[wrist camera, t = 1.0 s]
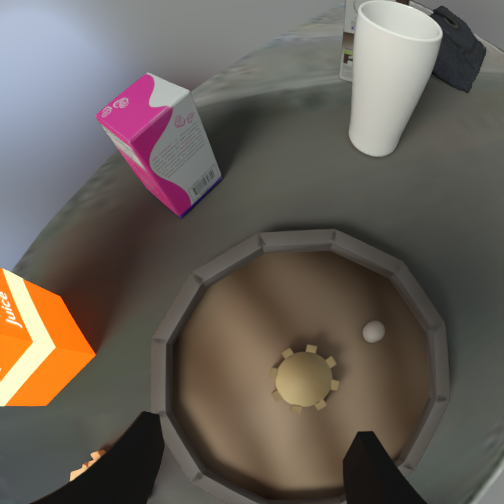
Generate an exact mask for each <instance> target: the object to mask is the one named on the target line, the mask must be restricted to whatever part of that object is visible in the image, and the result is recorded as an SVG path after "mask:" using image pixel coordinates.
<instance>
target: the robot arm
mask: <svg viewBox="0 0 504 504" xmlns="http://www.w3.org/2000/svg"><path fill="white" fill-rule="evenodd" d="M164 446H165V445H164V439H163V433H162V428H161V422H160V416H159V414H155V413H150V412H145V411H143V412H141V413H140V415H139V416H138V417H137V418H136V420H135V421H134V422H133V423H132V424H131V426H130V427H129V428H128V429H127V430H126V431H125V432H124V434H123V435H122V436H121V437H120V438H119V439H118V440H117V441H116V442H115V443H114V444H113V445H112V446H111V447H110V448H109V449H108V450H107V451H106V452H105V453H104V454H103V455H102V456H101V457H100V458H99V459H98V460H97V461H96V462H94V463H93V464H92V465H91V466H90V467H89V468H88V469H86V470H85V471H84V472H83V473H81V474H80V475H79V476H77V477H76V478H74V479H73V480H72V481H70V482H69V483H67V484H66V485H64V486H62V487H61V488H59V489H58V490H56V491H54V492H52V493H51V494H49V495H47V496H45V497H43V498H41V499H39V500H37V501H34V502H32V503H30V504H146V503H147V500H148V498H149V495H150V492H151V490H152V487H153V484H154V482H155V479H156V476H157V473H158V471H159V468H160V464H161V460H162V455H163V451H164ZM343 483H344V490H345V495H346V501H347V504H427V503H426V502H425V501H424V500H423V499H422V498H421V497H420V495H419V494H418V493H417V492H416V491H415V490H414V488H413V487H412V486H411V485H410V484H409V482H408V481H407V480H406V479H405V477H404V476H403V475H402V473H401V472H400V470H399V469H398V468H397V466H396V465H395V463H394V462H393V461H392V459H391V458H390V456H389V455H388V453H387V452H386V450H385V449H384V447H383V445H382V444H381V442H380V441H379V439H378V438H377V436H376V435H375V433H374V432H373V431H358V432H357V434H356V436H355V438H354V440H353V442H352V444H351V446H350V448H349V449H348V451H347V453H346V455H345V457H344V459H343Z"/></svg>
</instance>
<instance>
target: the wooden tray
mask: <svg viewBox="0 0 504 504" xmlns="http://www.w3.org/2000/svg"><path fill="white" fill-rule="evenodd" d="M449 401H450V379H449V360H448V346H447V335H446V325H445V322H444V321H443V319H442V317H441V316H440V314H439V313H438V311H437V310H436V308H435V307H434V305H433V304H432V302H431V301H430V299H429V298H428V296H427V295H426V293H425V292H424V290H423V289H422V288H421V286H420V285H419V283H418V282H417V280H416V279H415V278H414V276H413V275H412V273H411V272H410V271H409V269H408V268H407V266H406V265H405V264H404V262H403V261H401V260H399V259H397V258H395V257H393V256H391V255H389V254H387V253H385V252H383V251H381V250H379V249H377V248H375V247H372V246H370V245H368V244H366V243H364V242H362V241H360V240H358V239H356V238H354V237H351V236H349V235H347V234H345V233H343V232H341V231H339V230H336V229H319V230H299V231H279V232H261V233H257V234H255V235H253V236H252V237H250V238H248V239H247V240H245V241H243V242H241V243H240V244H238V245H236V246H235V247H233V248H231V249H230V250H228V251H226V252H225V253H223V254H221V255H220V256H218V257H216V258H215V259H213V260H211V261H210V262H208V263H206V264H204V265H203V266H201V267H199V268H198V269H196V270H194V271H193V272H191V274H190V275H189V277H188V279H187V280H186V282H185V284H184V285H183V287H182V289H181V290H180V292H179V294H178V295H177V297H176V299H175V300H174V302H173V304H172V305H171V307H170V309H169V310H168V312H167V314H166V315H165V317H164V319H163V321H162V322H161V324H160V326H159V327H158V329H157V331H156V332H155V334H154V336H153V338H152V349H151V413H155V414H159V416H160V422H161V428H162V433H163V438H164V440H165V442H166V443H167V445H168V447H169V448H170V450H171V452H172V453H173V455H174V457H175V458H176V460H177V462H178V463H179V465H180V466H181V468H182V469H183V471H184V473H185V474H186V476H187V477H188V479H189V480H190V482H191V483H193V484H194V485H196V486H198V487H199V488H201V489H203V490H205V491H206V492H208V493H210V494H212V495H213V496H215V497H217V498H219V499H221V500H223V501H225V502H227V503H228V504H347V501H346V495H345V490H344V483H343V459H344V457H345V455H346V453H347V451H348V449H349V448H350V446H351V444H352V442H353V440H354V438H355V436H356V434H357V432H358V431H373V432H374V433H375V435H376V436H377V438H378V439H379V441H380V442H381V444H382V445H383V447H384V449H385V450H386V452H387V453H388V455H389V456H390V458H391V459H392V461H393V462H394V463H395V465H396V466H397V468H398V469H399V470H400V472H401V473H402V475H403V476H404V477H406V476H407V475H409V474H410V473H411V472H413V471H414V469H415V468H416V466H417V464H418V463H419V461H420V459H421V457H422V455H423V454H424V452H425V450H426V448H427V446H428V444H429V443H430V441H431V439H432V437H433V435H434V433H435V431H436V429H437V427H438V425H439V423H440V421H441V418H442V416H443V414H444V412H445V410H446V408H447V405H448V403H449Z"/></svg>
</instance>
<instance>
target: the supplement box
mask: <svg viewBox="0 0 504 504" xmlns="http://www.w3.org/2000/svg"><path fill="white" fill-rule="evenodd" d="M96 118H97V120H98V121H99V123H100V124H101V126H102V127H103V129H104V130H105V131H106V133H107V134H108V135H109V137H110V138H111V140H112V141H113V143H114V144H115V145H116V147H117V148H118V150H119V151H120V153H121V154H122V155H123V157H124V158H125V159H126V161H127V162H128V164H129V165H130V166H131V168H132V169H133V171H134V172H135V173H136V175H137V176H138V177H139V179H140V180H141V181H142V183H143V184H144V186H145V187H146V188H147V190H149V191H150V192H151V193H152V194H153V195H154V196H155V197H156V198H157V199H159V200H160V201H161V202H162V203H163V204H164V205H165V206H166V207H168V208H169V209H170V210H171V211H172V212H173V213H174V214H176V215H177V216H178V217H179V218H183V217H184V216H185V215H186V214H187V213H188V212H189V211H190V210H191V209H192V208H193V207H194V206H195V205H196V204H197V203H198V202H199V201H200V200H201V199H202V198H203V197H204V196H205V195H206V194H207V193H209V192H210V191H211V190H212V189H213V188H214V187H215V186H216V185H217V184H218V183H219V182H220V181H221V180H222V179H223V178H222V176H221V172H220V170H219V167H218V164H217V162H216V159H215V156H214V154H213V151H212V148H211V146H210V143H209V140H208V138H207V135H206V132H205V130H204V127H203V124H202V122H201V119H200V116H199V114H198V111H197V108H196V106H195V103H194V100H193V97H192V95H191V92H190V91H189V90H187V89H185V88H182V87H180V86H177V85H175V84H173V83H170V82H168V81H166V80H164V79H162V78H159V77H157V76H155V75H153V74H150V73H147V74H145V75H144V76H143V77H141V78H140V79H139V80H137V81H136V82H135V83H134V84H132V85H131V86H130V87H129V88H127V89H126V90H125V91H124V92H123V93H121V94H120V95H119V96H118V97H116V98H115V99H114V100H113V101H112V102H110V103H109V104H108V105H107V106H106V107H104V108H103V109H102V110H101V111H100V112H99V113H98V114H96Z"/></svg>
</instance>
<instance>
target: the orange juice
mask: <svg viewBox="0 0 504 504" xmlns="http://www.w3.org/2000/svg"><path fill="white" fill-rule="evenodd" d="M94 356H95V353H94V352H93V350H92V348H91V347H90V345H89V344H88V342H87V341H86V339H85V338H84V336H83V334H82V333H81V331H80V329H79V328H78V326H77V325H76V323H75V321H74V319H73V318H72V316H71V314H70V313H69V311H68V309H67V307H66V306H65V304H64V302H63V300H62V299H61V297H60V296H58V295H56V294H54V293H51V292H49V291H47V290H45V289H43V288H40V287H38V286H36V285H34V284H32V283H30V282H28V281H26V280H23V279H22V278H21V277H19V276H17V275H15V274H13V273H11V272H9V271H7V270H5V269H1V268H0V406H5V405H6V406H46V405H47V404H48V403H49V402H50V401H51V400H52V399H53V398H54V397H55V396H56V395H57V394H58V393H59V392H60V391H61V390H62V388H63V387H64V386H65V385H66V384H67V383H68V382H69V381H70V380H71V379H72V378H73V377H74V376H75V375H76V374H77V373H78V372H79V371H80V370H81V369H82V368H83V367H84V366H85V365H86V364H87V363H88V362H89V361H90V360H91V359H92V358H93V357H94Z"/></svg>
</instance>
